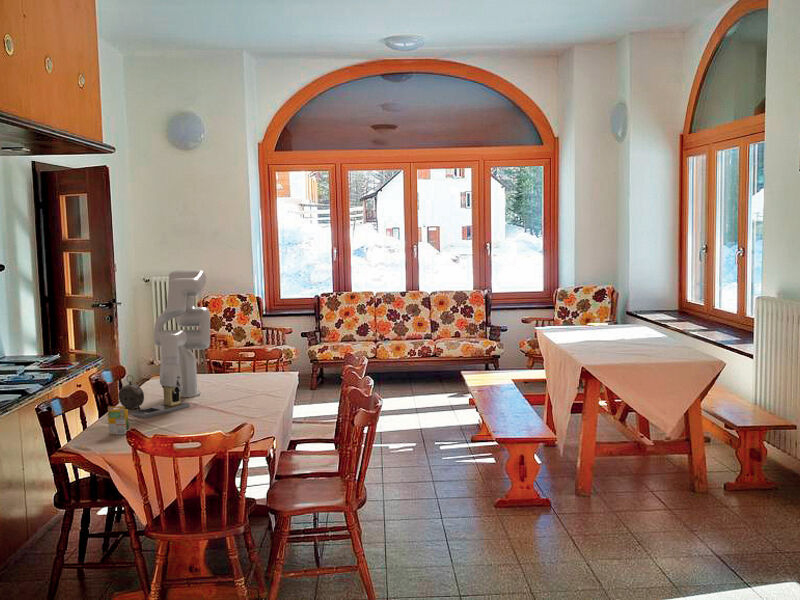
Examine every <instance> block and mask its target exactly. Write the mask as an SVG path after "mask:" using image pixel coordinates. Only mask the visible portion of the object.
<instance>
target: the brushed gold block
mask: <svg viewBox="0 0 800 600" xmlns="http://www.w3.org/2000/svg"><path fill="white" fill-rule="evenodd" d="M176 388H177V387H175V389H176ZM162 391H163V404H164V406H166V407H175V406H179V405H181V404H180V402H181V400H180V401H178V402H173V393H174V392H173V388H172V387H167V386H164V387H162ZM179 398H180V399H181V397H180V392H179Z"/></svg>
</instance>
